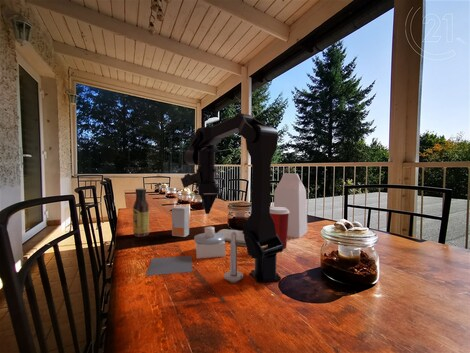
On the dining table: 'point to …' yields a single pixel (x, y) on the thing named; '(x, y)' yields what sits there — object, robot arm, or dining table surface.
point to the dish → (210, 250)
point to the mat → (170, 265)
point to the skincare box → (180, 221)
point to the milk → (293, 203)
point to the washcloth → (239, 236)
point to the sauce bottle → (141, 214)
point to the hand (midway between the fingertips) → (205, 211)
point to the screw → (233, 262)
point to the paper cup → (280, 222)
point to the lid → (209, 237)
